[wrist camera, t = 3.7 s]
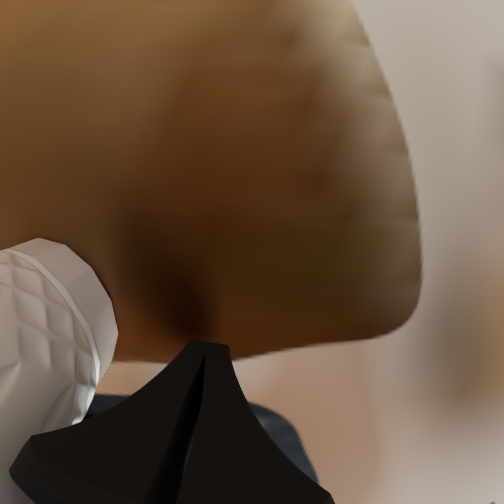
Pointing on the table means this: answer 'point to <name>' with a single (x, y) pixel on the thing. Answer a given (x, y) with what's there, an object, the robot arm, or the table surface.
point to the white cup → (48, 346)
